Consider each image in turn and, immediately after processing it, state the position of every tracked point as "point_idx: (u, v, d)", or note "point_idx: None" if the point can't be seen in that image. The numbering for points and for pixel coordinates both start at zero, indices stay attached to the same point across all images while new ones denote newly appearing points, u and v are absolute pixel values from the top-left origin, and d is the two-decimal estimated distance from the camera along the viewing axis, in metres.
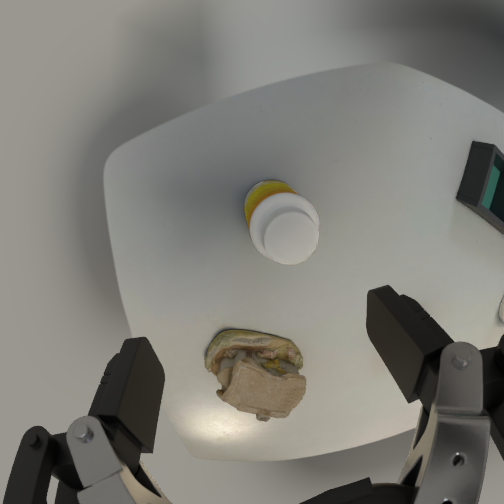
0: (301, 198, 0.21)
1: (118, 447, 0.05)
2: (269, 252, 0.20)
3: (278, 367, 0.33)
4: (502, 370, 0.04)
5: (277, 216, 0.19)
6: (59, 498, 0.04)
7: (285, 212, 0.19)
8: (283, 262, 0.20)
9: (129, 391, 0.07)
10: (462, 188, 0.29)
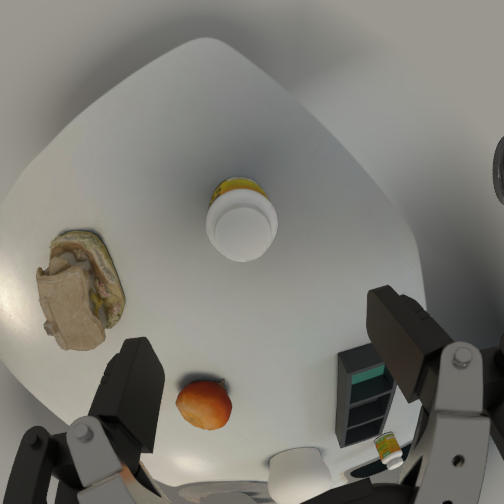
0: (277, 223, 0.21)
1: (118, 447, 0.05)
2: (219, 223, 0.19)
3: (97, 307, 0.28)
4: (502, 370, 0.04)
5: (256, 210, 0.19)
6: (59, 499, 0.04)
7: (263, 215, 0.19)
8: (217, 241, 0.19)
9: (129, 391, 0.07)
10: (350, 352, 0.37)
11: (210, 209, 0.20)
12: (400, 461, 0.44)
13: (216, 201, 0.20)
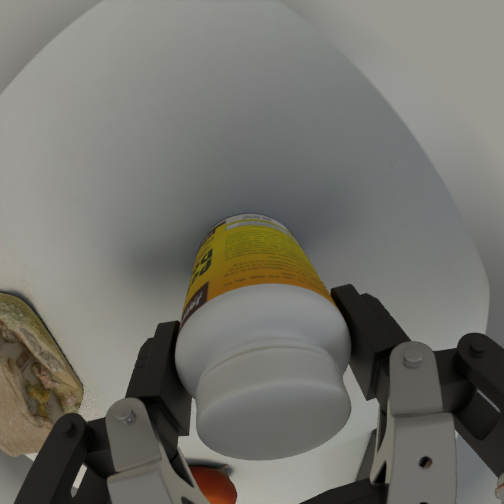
0: (349, 356, 0.08)
1: (160, 428, 0.06)
2: (209, 415, 0.05)
3: (43, 404, 0.14)
4: (460, 373, 0.05)
5: (322, 378, 0.05)
6: (84, 485, 0.05)
7: (339, 387, 0.06)
8: (206, 441, 0.06)
9: (168, 372, 0.07)
10: None
11: (183, 339, 0.07)
12: None
13: (197, 322, 0.07)
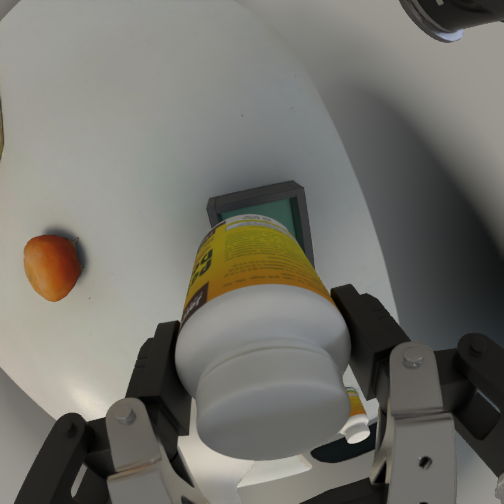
0: (349, 357, 0.08)
1: (160, 428, 0.06)
2: (209, 416, 0.05)
3: None
4: (460, 372, 0.05)
5: (322, 379, 0.05)
6: (84, 485, 0.05)
7: (339, 387, 0.06)
8: (206, 441, 0.06)
9: (168, 372, 0.07)
10: (225, 195, 0.29)
11: (183, 339, 0.07)
12: (364, 430, 0.35)
13: (197, 322, 0.07)
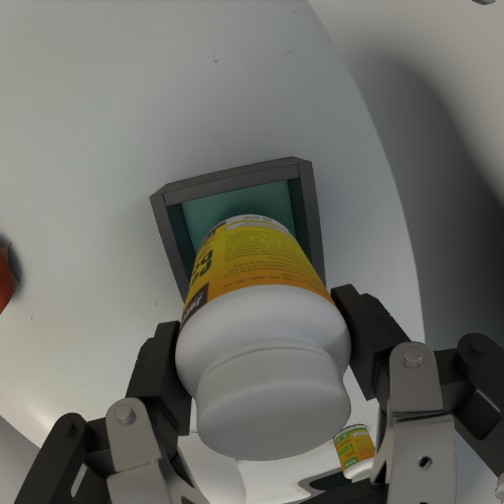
0: (349, 357, 0.08)
1: (160, 428, 0.06)
2: (209, 416, 0.05)
3: None
4: (460, 372, 0.05)
5: (322, 379, 0.05)
6: (84, 485, 0.05)
7: (339, 388, 0.06)
8: (206, 441, 0.06)
9: (168, 372, 0.07)
10: (187, 179, 0.18)
11: (183, 340, 0.07)
12: None
13: (197, 323, 0.07)
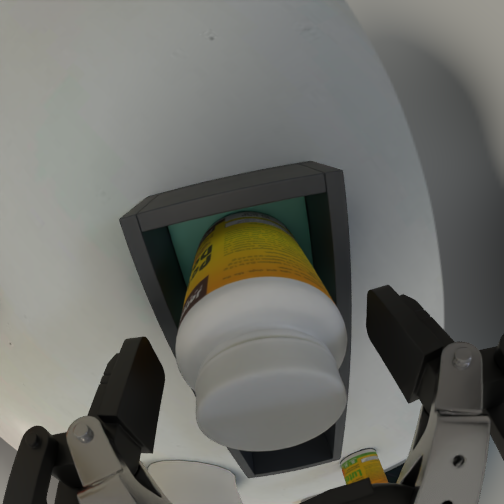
0: (345, 349, 0.08)
1: (118, 447, 0.05)
2: (208, 403, 0.06)
3: None
4: (502, 370, 0.04)
5: (317, 367, 0.06)
6: (59, 499, 0.04)
7: (335, 376, 0.06)
8: (205, 430, 0.06)
9: (129, 391, 0.07)
10: (174, 190, 0.14)
11: (183, 331, 0.08)
12: None
13: (197, 314, 0.07)
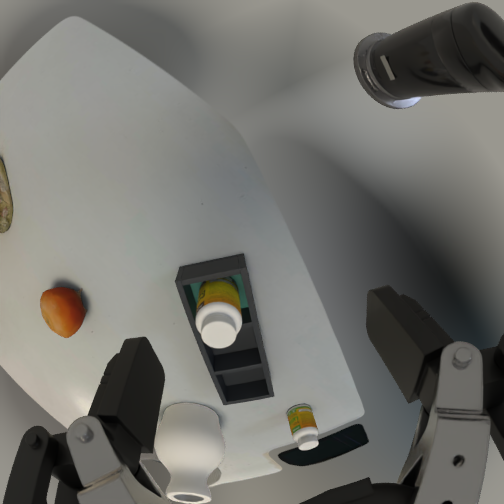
0: (241, 321, 0.32)
1: (118, 447, 0.05)
2: (204, 329, 0.30)
3: None
4: (502, 370, 0.04)
5: (226, 321, 0.30)
6: (59, 498, 0.04)
7: (230, 324, 0.30)
8: (203, 338, 0.30)
9: (129, 391, 0.07)
10: (190, 266, 0.38)
11: (198, 314, 0.31)
12: (312, 440, 0.44)
13: (201, 310, 0.31)
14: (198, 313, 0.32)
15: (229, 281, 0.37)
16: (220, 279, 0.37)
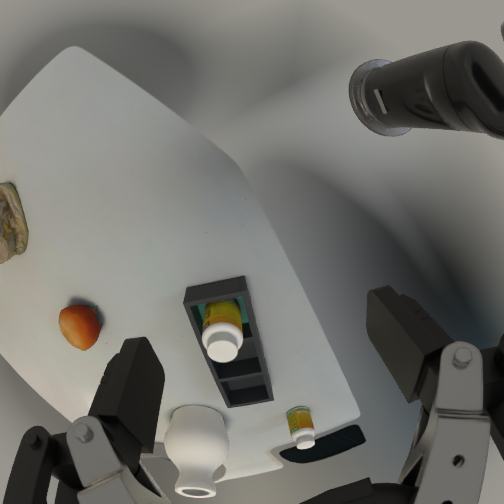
0: (242, 339, 0.36)
1: (118, 447, 0.05)
2: (209, 347, 0.34)
3: (6, 233, 0.32)
4: (502, 370, 0.04)
5: (229, 340, 0.34)
6: (59, 498, 0.04)
7: (232, 343, 0.34)
8: (208, 354, 0.34)
9: (129, 391, 0.07)
10: (196, 287, 0.42)
11: (204, 333, 0.35)
12: (309, 440, 0.48)
13: (207, 330, 0.35)
14: (204, 332, 0.36)
15: (232, 301, 0.41)
16: None
